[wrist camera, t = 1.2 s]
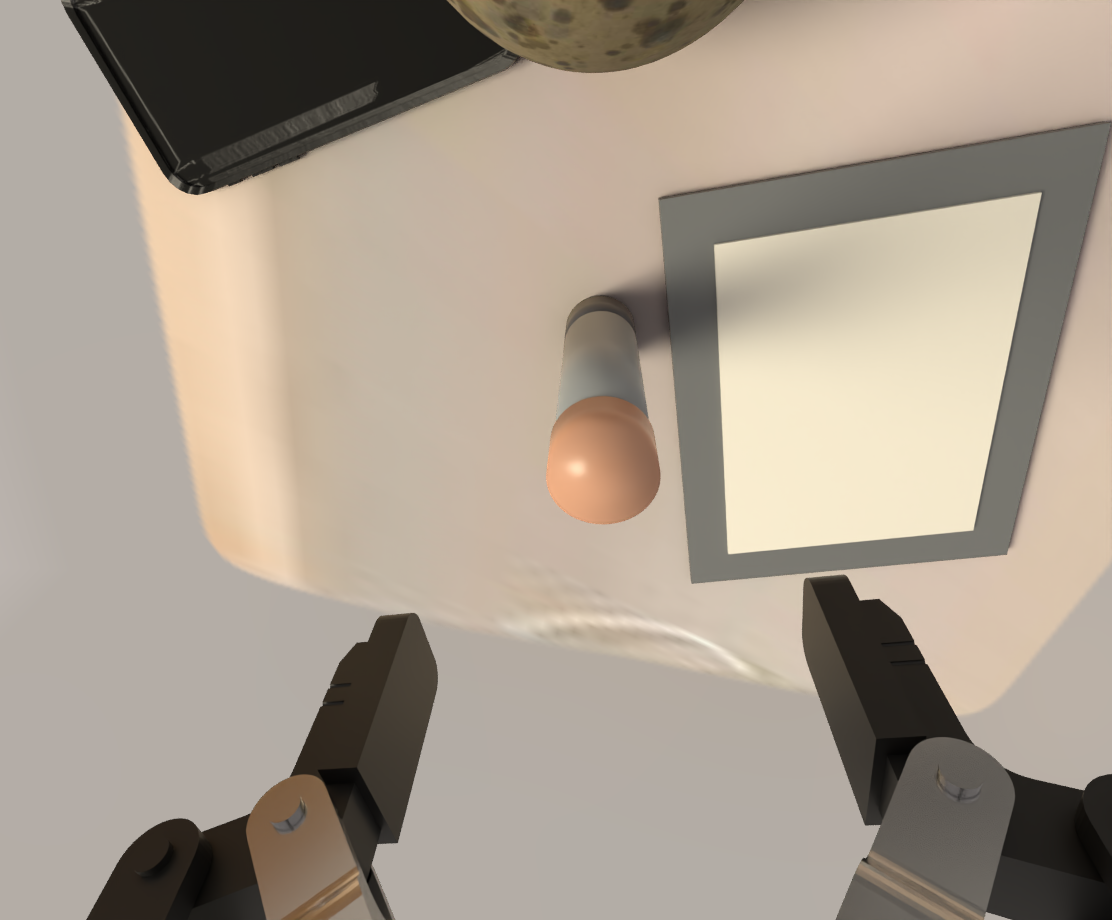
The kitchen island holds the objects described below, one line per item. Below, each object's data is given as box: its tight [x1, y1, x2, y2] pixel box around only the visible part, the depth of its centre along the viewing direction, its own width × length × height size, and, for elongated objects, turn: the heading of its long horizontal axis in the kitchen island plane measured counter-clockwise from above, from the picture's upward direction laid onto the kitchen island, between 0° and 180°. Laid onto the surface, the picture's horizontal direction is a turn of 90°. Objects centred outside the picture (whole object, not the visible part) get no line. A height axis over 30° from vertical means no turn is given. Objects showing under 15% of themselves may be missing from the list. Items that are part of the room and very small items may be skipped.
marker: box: [546, 296, 660, 524], centre depth 23 cm, size 3×3×12 cm
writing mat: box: [659, 122, 1111, 584], centre depth 29 cm, size 20×16×1 cm
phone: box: [61, 0, 519, 195], centre depth 23 cm, size 8×1×15 cm
